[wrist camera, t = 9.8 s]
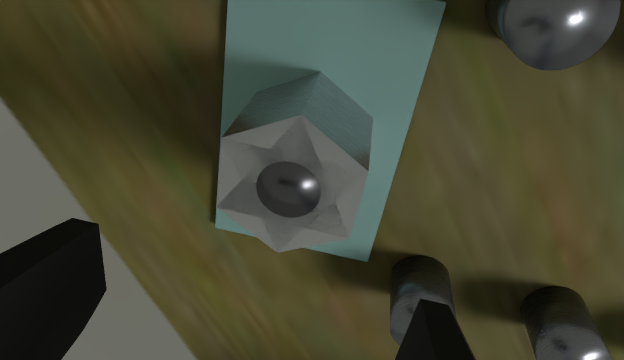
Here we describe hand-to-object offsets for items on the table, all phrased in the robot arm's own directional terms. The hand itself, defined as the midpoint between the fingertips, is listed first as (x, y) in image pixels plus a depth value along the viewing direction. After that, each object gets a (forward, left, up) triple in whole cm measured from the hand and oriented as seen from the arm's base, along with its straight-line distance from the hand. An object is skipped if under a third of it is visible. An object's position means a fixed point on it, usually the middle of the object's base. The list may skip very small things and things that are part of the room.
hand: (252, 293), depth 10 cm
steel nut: (0, 0, -8) cm, 8 cm away
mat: (0, 0, -9) cm, 9 cm away
